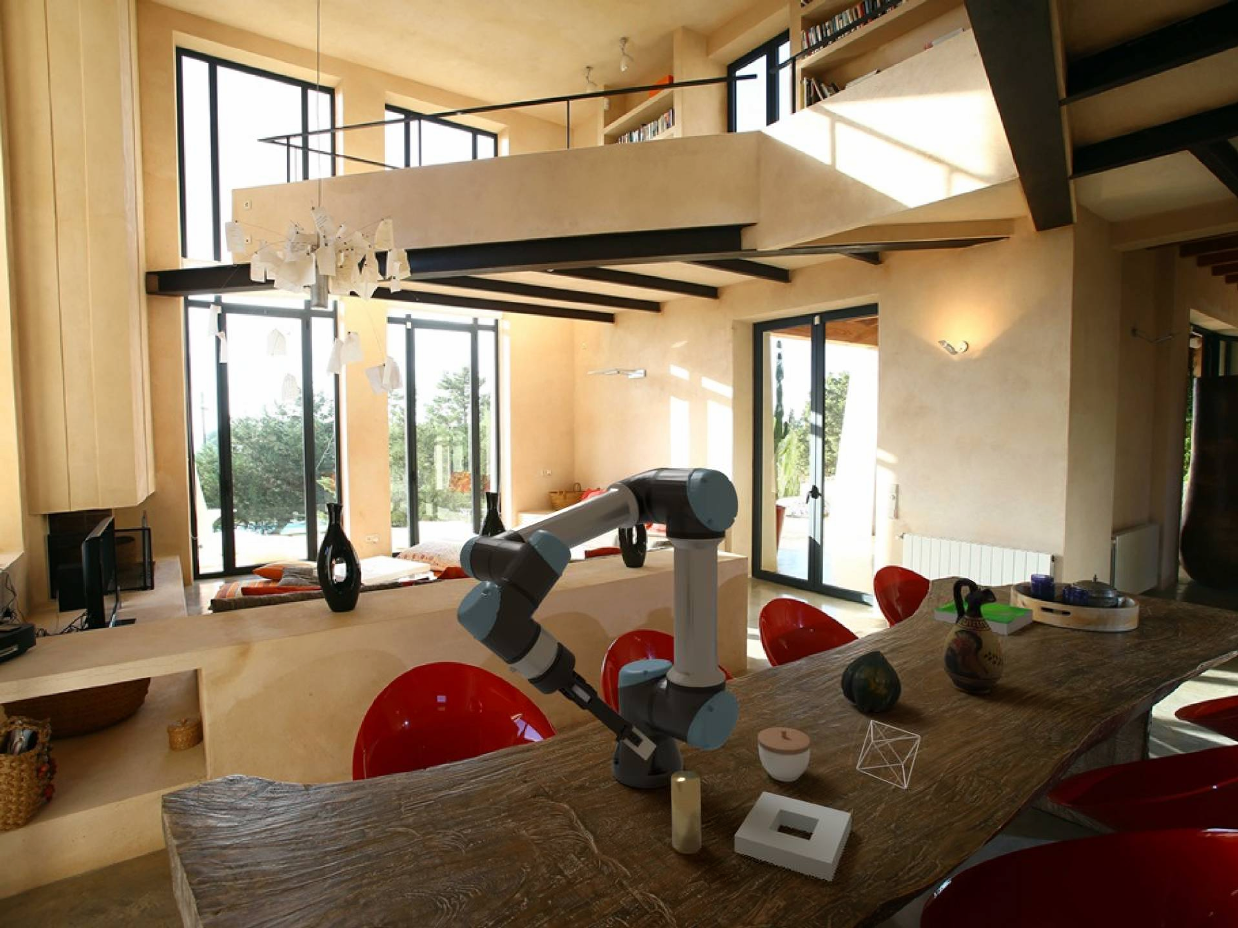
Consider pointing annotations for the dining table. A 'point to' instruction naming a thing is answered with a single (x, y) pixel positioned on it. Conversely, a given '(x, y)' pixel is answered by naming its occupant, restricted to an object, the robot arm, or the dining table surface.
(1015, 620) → the tray
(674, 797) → the gold cylinder
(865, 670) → the squash
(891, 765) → the geometric polyhedron
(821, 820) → the frame
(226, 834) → the dining table surface
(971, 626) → the ceramic jug
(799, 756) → the lidded jar
